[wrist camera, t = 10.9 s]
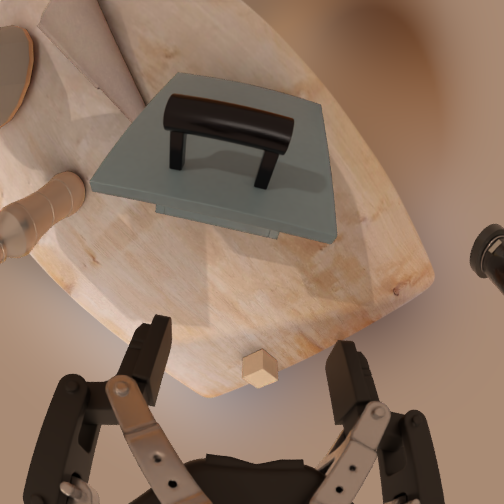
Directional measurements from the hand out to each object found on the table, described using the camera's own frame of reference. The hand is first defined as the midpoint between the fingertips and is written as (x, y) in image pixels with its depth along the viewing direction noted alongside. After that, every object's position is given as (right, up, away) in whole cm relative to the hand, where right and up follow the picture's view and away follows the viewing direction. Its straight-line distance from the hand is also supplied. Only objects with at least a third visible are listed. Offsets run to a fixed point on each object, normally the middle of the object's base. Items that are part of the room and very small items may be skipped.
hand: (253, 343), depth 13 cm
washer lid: (-1, +12, +5) cm, 13 cm away
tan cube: (+2, -17, +41) cm, 45 cm away
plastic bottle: (-28, +14, +24) cm, 39 cm away
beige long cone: (-18, +30, +14) cm, 38 cm away
